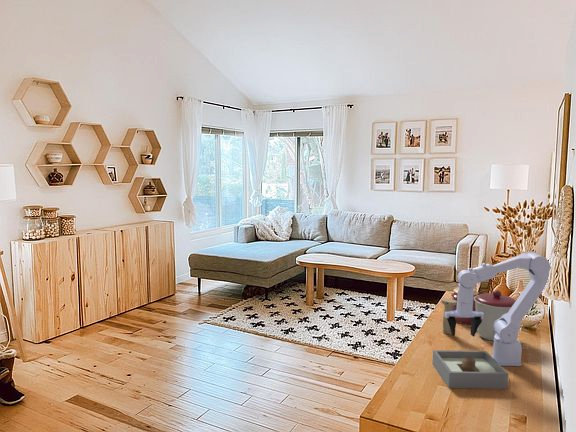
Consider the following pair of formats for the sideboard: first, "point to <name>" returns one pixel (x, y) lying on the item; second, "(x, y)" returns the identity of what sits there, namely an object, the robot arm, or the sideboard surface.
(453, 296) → the canister
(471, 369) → the peg
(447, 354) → the socket box
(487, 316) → the canister
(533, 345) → the sideboard surface
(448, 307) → the handle
